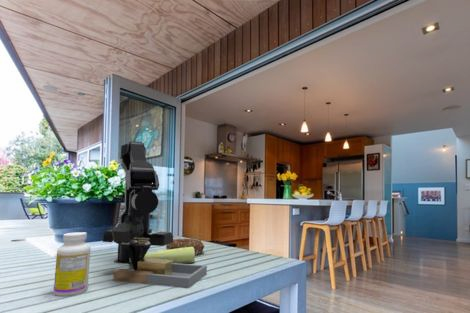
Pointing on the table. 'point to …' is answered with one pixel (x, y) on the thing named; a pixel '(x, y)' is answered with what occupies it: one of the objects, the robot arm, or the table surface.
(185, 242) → the donut
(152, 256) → the tube
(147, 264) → the brass block
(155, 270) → the brass block
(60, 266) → the supplement bottle
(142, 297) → the table surface
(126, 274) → the slot board
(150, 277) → the tray
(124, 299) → the table surface
